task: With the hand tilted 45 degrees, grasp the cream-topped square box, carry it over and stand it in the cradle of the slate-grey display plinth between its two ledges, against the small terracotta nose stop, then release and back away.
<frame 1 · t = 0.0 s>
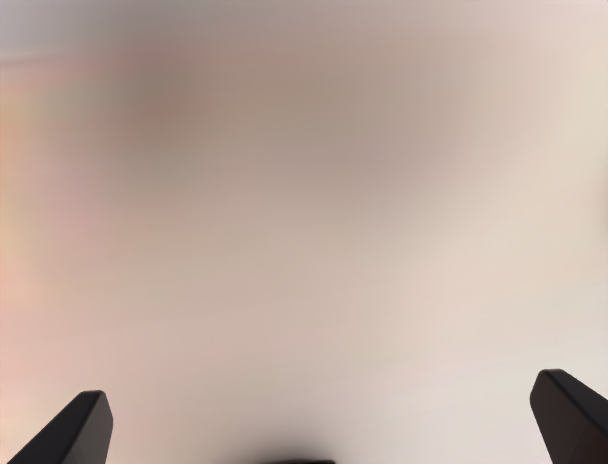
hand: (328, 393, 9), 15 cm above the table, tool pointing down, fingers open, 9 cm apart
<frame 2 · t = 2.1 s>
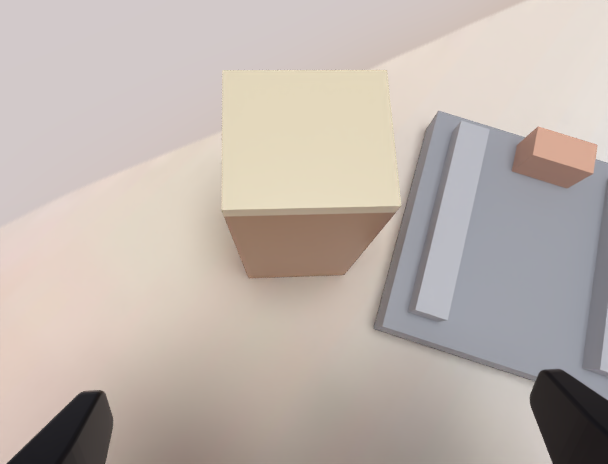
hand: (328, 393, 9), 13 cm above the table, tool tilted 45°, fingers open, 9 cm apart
display plinth: (507, 255, 24), on the table
cream-topped square box: (295, 235, 24), on the table
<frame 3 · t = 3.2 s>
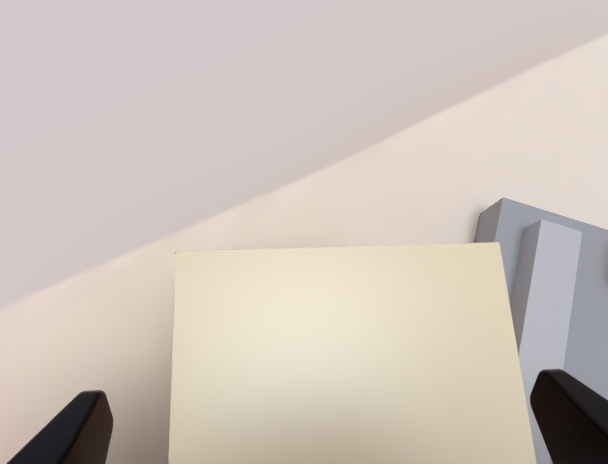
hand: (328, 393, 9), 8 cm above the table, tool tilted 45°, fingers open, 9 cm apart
display plinth: (598, 397, 17), on the table
cream-topped square box: (305, 372, 17), on the table
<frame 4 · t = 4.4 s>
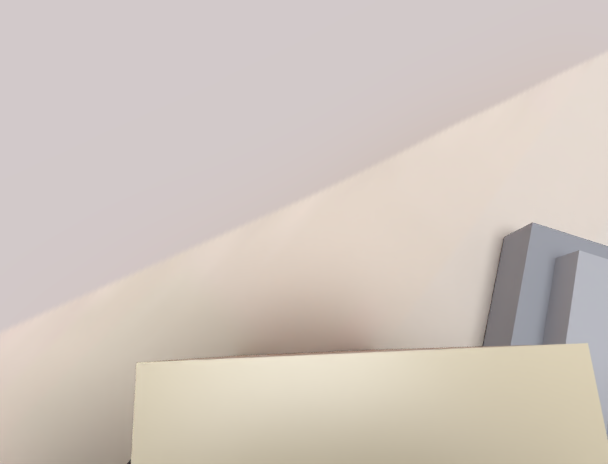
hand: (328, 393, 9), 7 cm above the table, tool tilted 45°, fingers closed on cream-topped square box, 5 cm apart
cream-topped square box: (309, 419, 15), on the table, touching gripper
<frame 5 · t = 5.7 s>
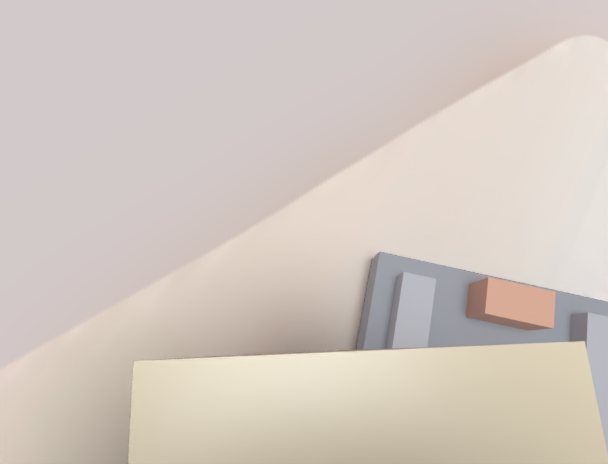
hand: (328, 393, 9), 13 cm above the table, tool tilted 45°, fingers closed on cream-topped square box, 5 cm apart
display plinth: (470, 403, 22), on the table
cream-topped square box: (308, 418, 15), point 6 cm above the table, touching gripper
when the fingers open (9 cm above the table, at t = 7.5 s): cream-topped square box stays where it is, resting on display plinth.
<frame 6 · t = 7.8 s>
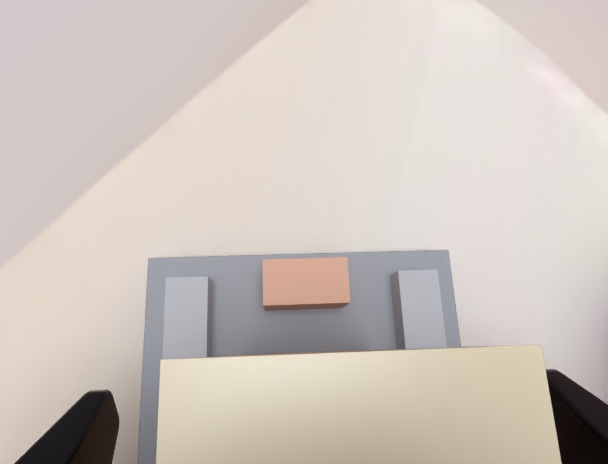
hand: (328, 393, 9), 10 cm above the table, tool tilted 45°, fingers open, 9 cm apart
display plinth: (304, 408, 18), on the table
cream-topped square box: (307, 414, 16), point 2 cm above the table, touching display plinth
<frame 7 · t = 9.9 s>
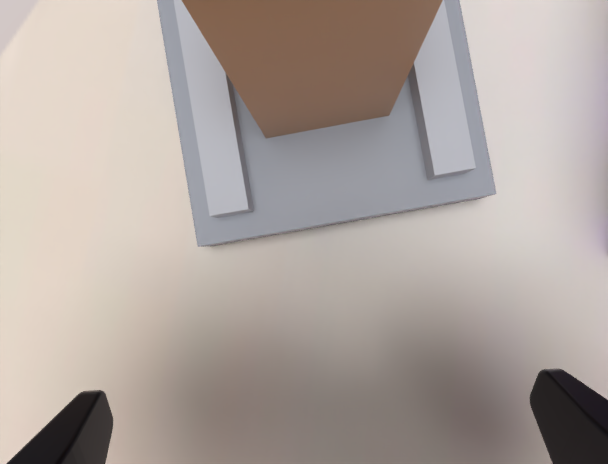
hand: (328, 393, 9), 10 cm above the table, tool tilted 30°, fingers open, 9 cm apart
display plinth: (319, 90, 20), on the table
cream-topped square box: (317, 73, 18), point 2 cm above the table, touching display plinth
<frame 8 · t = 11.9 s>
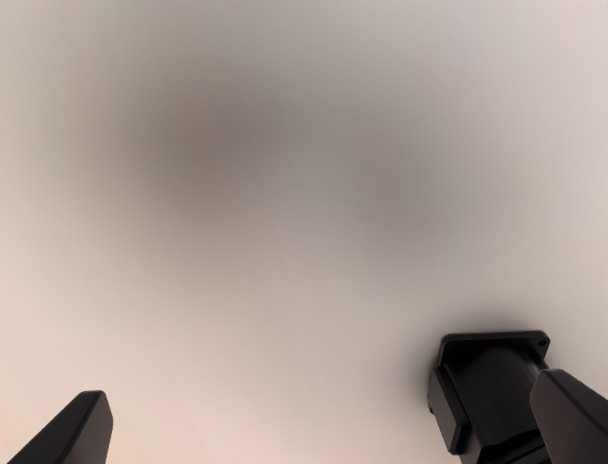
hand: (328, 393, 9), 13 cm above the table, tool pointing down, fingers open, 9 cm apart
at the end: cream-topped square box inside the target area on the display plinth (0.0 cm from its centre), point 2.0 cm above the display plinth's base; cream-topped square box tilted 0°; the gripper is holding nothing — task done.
